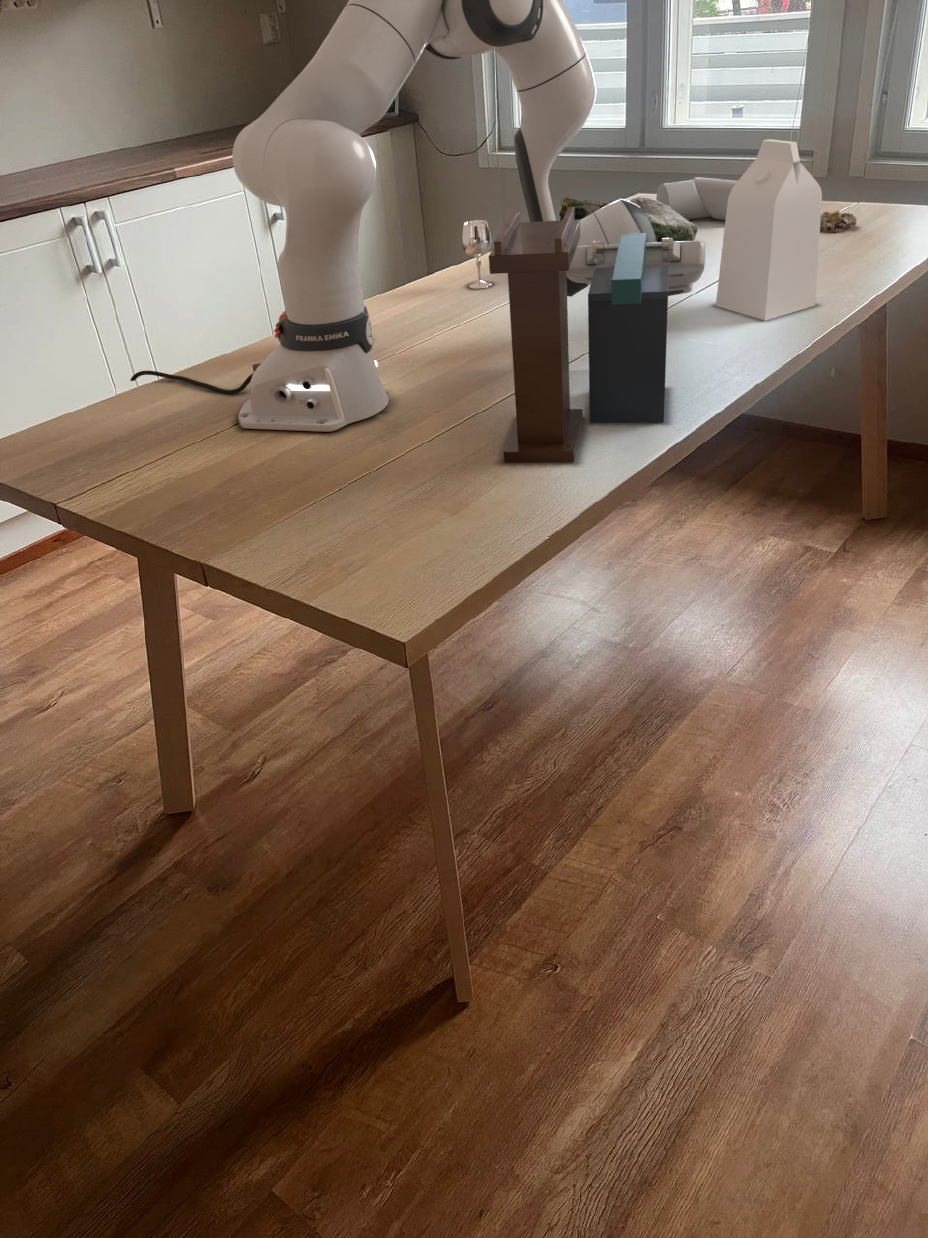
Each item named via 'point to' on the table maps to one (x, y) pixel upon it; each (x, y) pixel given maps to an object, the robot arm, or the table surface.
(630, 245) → the teal block
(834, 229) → the mineral rock
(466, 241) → the wineglass
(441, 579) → the table surface
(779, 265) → the milk
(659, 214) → the mossy grey boulder
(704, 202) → the bent grey cylinder
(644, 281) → the slate crate
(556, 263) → the walnut stand
